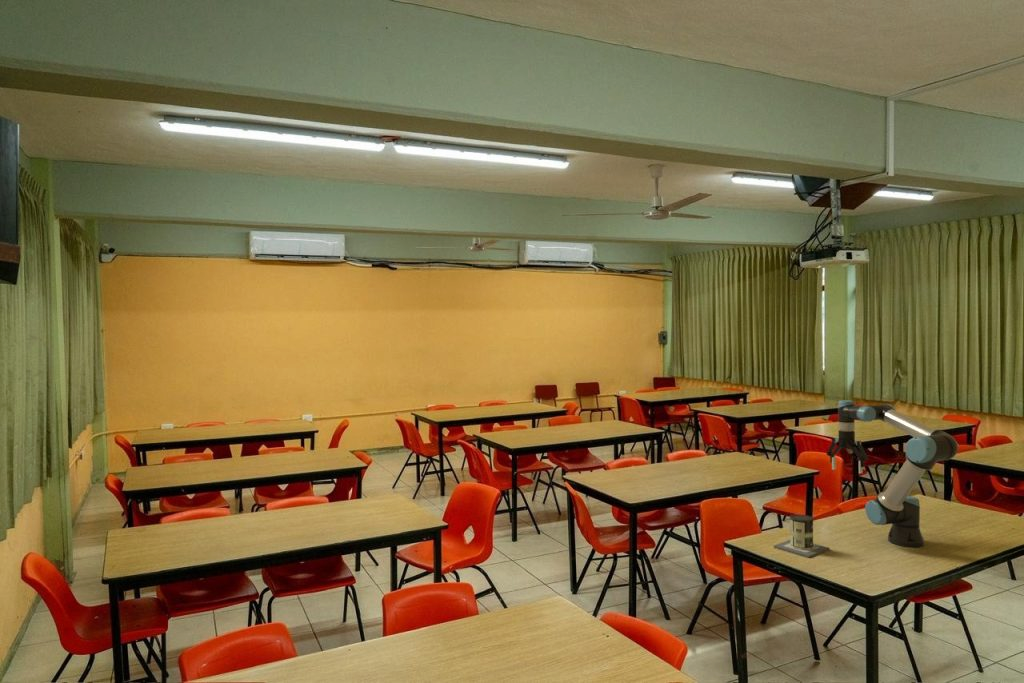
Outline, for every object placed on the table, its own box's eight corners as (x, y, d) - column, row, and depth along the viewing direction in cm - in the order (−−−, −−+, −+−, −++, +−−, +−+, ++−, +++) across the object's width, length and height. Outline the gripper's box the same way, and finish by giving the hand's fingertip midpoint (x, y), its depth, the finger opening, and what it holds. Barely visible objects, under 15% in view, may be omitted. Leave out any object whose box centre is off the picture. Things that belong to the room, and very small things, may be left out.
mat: (829, 549, 317) (829, 547, 317) (808, 558, 307) (808, 555, 307) (794, 540, 332) (794, 537, 332) (773, 547, 321) (773, 545, 321)
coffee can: (810, 543, 323) (810, 514, 323) (815, 550, 313) (815, 521, 313) (788, 542, 326) (788, 513, 325) (792, 549, 316) (792, 519, 315)
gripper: (875, 431, 335) (875, 473, 335) (826, 427, 355) (826, 467, 355) (868, 433, 331) (869, 475, 331) (819, 428, 350) (819, 468, 350)
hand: (847, 471), depth 343 cm, fingers open, 13 cm apart
